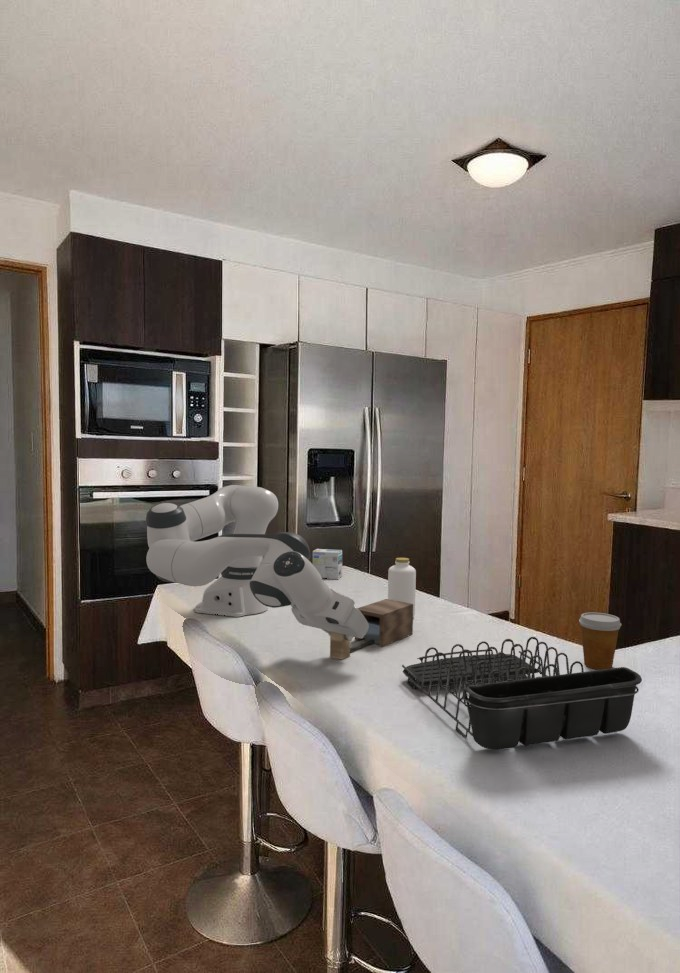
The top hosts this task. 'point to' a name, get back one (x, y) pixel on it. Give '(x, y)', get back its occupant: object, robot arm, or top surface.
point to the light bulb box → (328, 563)
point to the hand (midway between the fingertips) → (342, 636)
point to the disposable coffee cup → (599, 639)
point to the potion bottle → (402, 582)
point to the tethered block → (342, 646)
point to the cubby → (390, 619)
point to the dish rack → (528, 696)
